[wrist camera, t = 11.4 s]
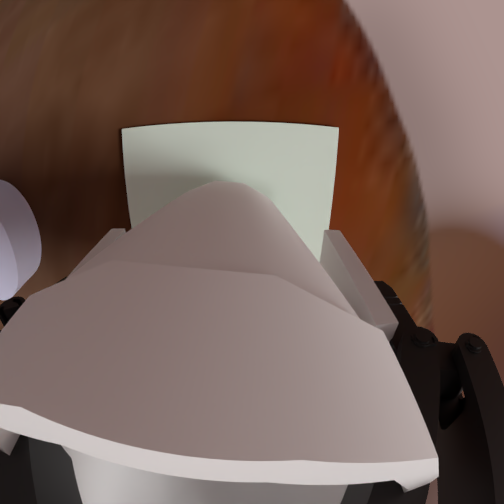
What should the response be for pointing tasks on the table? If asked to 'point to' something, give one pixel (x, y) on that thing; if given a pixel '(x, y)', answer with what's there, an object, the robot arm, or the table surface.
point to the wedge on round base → (16, 241)
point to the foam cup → (210, 367)
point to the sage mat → (236, 167)
